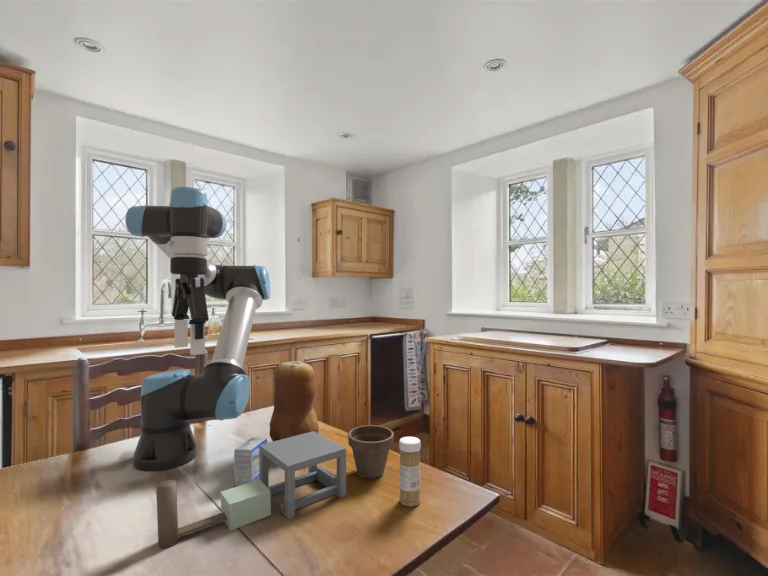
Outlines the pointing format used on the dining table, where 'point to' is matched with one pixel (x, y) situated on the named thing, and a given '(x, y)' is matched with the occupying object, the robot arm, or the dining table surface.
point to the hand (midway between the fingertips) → (188, 350)
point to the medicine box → (247, 461)
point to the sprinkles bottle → (409, 471)
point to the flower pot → (370, 449)
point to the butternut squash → (293, 401)
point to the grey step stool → (299, 456)
